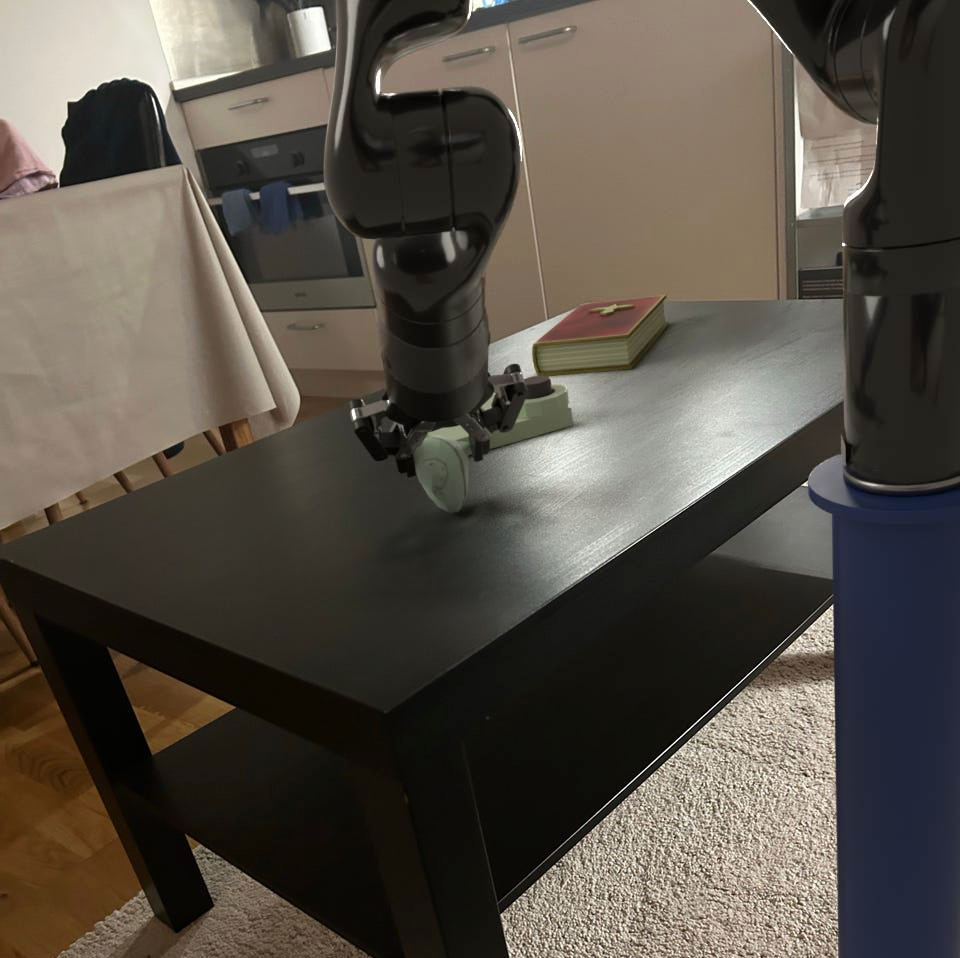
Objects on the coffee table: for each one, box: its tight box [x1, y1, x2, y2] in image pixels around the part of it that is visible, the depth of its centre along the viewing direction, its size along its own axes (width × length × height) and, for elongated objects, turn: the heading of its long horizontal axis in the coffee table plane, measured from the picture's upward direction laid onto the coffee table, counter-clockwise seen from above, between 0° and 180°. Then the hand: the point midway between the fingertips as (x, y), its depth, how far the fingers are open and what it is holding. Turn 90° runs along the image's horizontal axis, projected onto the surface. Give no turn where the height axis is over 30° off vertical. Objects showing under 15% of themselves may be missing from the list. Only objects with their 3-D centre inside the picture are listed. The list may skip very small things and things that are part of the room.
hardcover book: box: [531, 294, 670, 376], centre depth 128 cm, size 12×21×4 cm, turn 159°
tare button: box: [524, 375, 553, 399], centre depth 102 cm, size 3×3×2 cm
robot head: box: [413, 436, 470, 513], centre depth 85 cm, size 8×4×7 cm, turn 158°
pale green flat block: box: [425, 384, 574, 456], centre depth 105 cm, size 14×12×4 cm
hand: (442, 459), depth 86 cm, fingers closed on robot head, 5 cm apart
